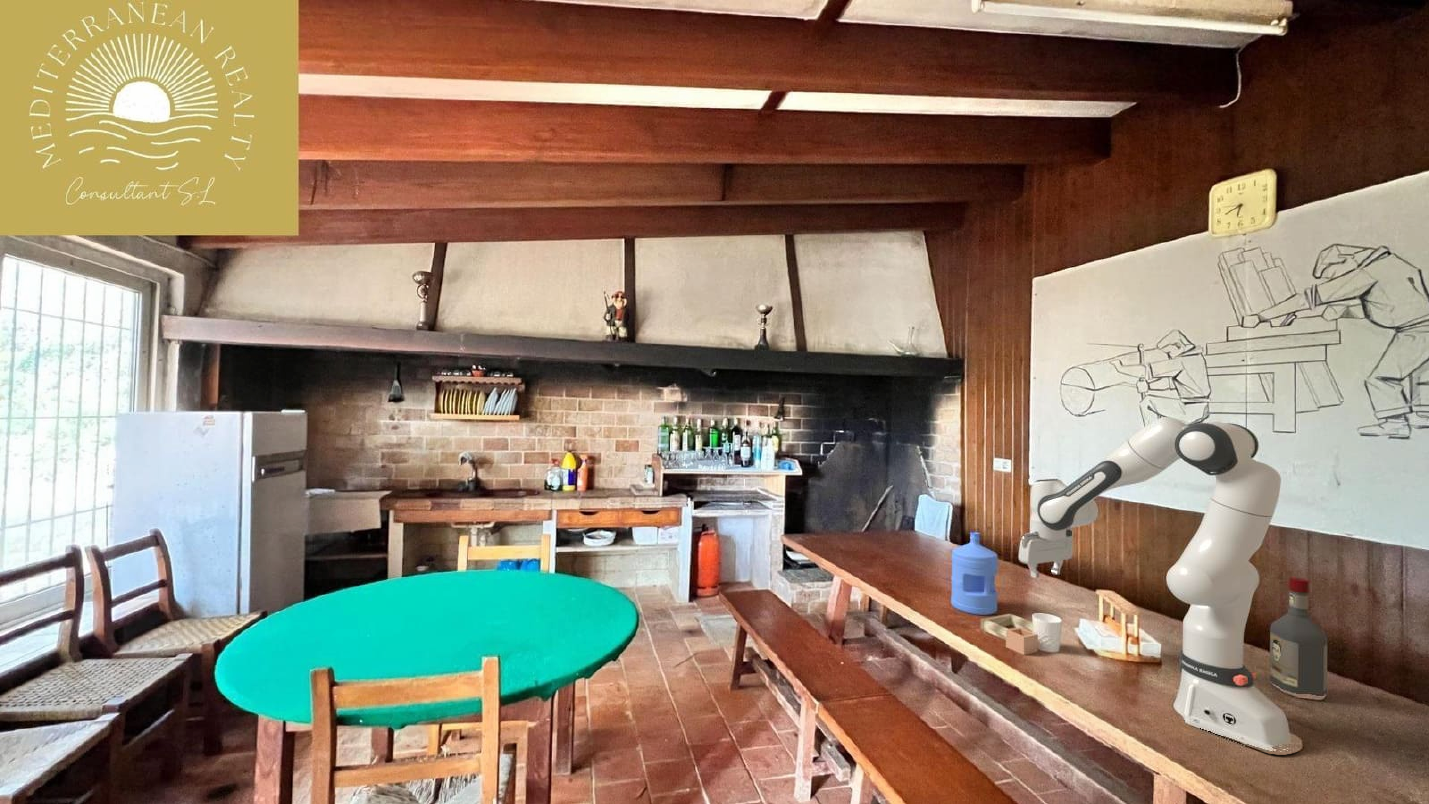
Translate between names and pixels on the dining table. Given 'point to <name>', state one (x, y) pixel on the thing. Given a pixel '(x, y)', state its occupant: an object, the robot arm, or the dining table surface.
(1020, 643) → the open-top wooden box
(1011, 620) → the birch bay
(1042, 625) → the white cup
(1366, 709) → the dining table surface
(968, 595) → the water jug
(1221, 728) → the robot arm
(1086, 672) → the dining table surface
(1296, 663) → the liquor
